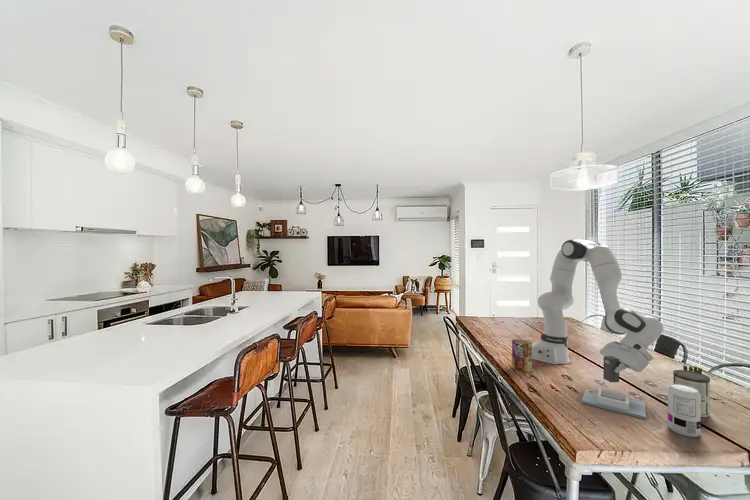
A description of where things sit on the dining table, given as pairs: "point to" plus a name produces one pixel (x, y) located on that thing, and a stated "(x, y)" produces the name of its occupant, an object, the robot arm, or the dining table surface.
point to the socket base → (614, 402)
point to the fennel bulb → (692, 369)
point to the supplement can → (684, 410)
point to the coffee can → (695, 386)
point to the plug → (610, 369)
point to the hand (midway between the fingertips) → (609, 369)
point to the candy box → (522, 355)
